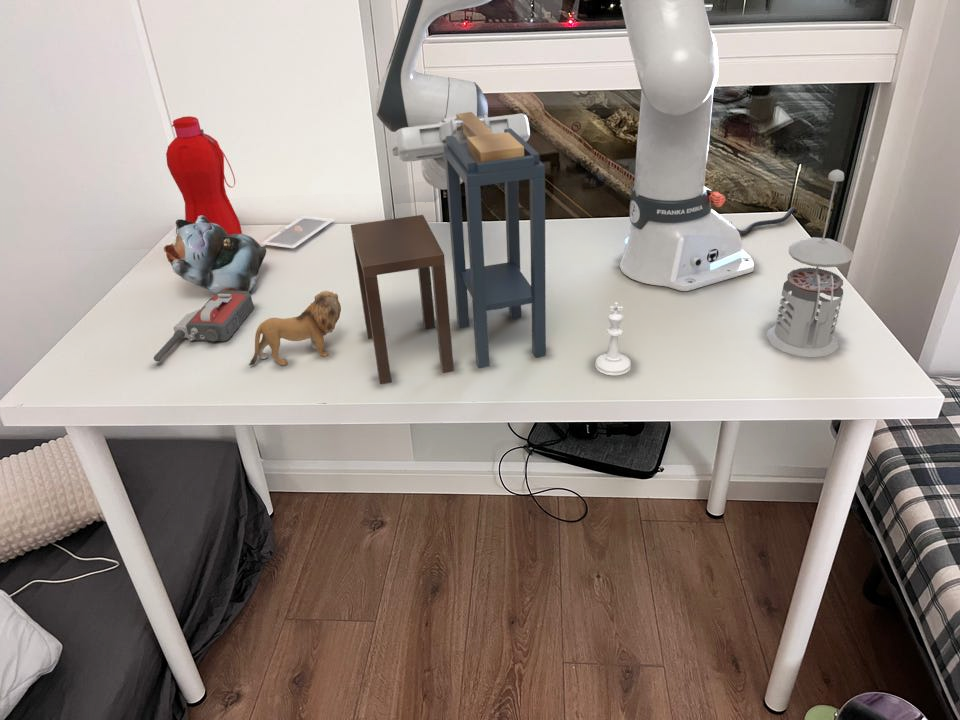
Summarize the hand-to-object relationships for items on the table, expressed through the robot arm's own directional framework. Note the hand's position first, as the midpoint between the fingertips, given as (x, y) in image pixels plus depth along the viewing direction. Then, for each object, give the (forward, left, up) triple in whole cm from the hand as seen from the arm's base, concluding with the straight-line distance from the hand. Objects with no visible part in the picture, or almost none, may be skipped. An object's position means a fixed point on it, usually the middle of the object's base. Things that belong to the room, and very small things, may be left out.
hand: (470, 122), depth 107 cm
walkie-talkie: (+43, -5, -30) cm, 53 cm away
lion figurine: (+29, +6, -30) cm, 42 cm away
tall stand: (0, +11, -29) cm, 31 cm away
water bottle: (+42, -40, -30) cm, 65 cm away
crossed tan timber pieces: (0, +6, -1) cm, 6 cm away
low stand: (+14, +10, -29) cm, 34 cm away
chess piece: (-13, +24, -30) cm, 40 cm away
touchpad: (+27, -40, -30) cm, 57 cm away
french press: (-41, +27, -30) cm, 57 cm away
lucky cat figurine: (+41, -22, -30) cm, 55 cm away
